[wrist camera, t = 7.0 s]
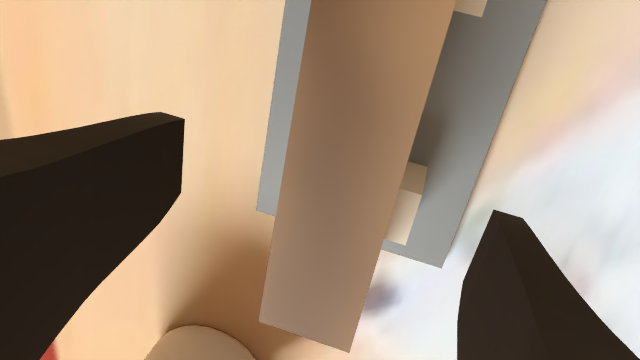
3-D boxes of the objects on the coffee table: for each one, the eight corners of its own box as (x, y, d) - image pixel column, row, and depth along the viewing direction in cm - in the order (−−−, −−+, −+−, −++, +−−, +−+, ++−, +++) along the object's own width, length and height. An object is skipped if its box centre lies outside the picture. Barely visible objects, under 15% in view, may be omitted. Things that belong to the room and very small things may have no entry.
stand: (598, -141, 16) (620, -149, 13) (442, 260, 24) (437, 303, 21) (318, -195, 17) (289, -211, 15) (260, 203, 25) (235, 238, 23)
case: (493, -128, 14) (499, -140, 10) (375, 262, 21) (349, 352, 17) (380, -151, 15) (339, -172, 10) (301, 239, 22) (258, 321, 18)
